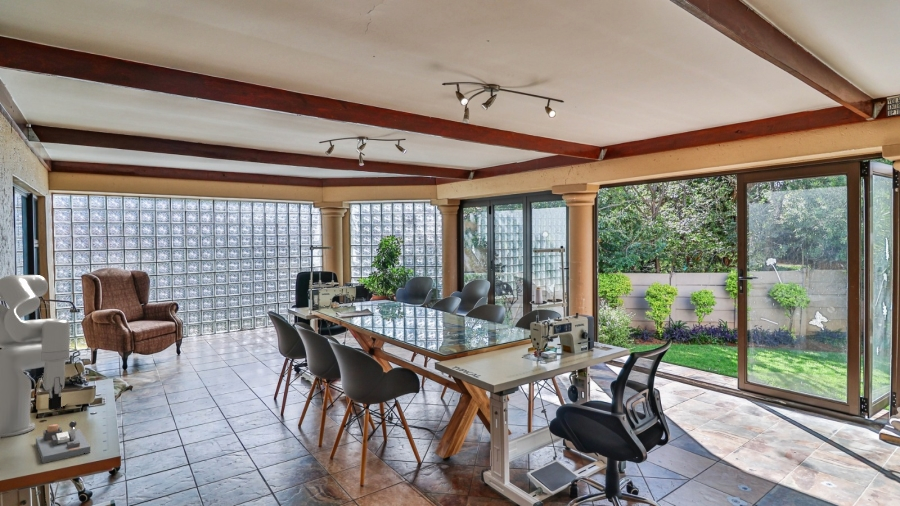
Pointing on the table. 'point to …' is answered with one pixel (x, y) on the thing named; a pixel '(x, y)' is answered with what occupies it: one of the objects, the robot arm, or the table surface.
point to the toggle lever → (73, 429)
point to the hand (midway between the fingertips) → (54, 408)
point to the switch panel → (61, 446)
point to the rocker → (62, 437)
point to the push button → (52, 428)
